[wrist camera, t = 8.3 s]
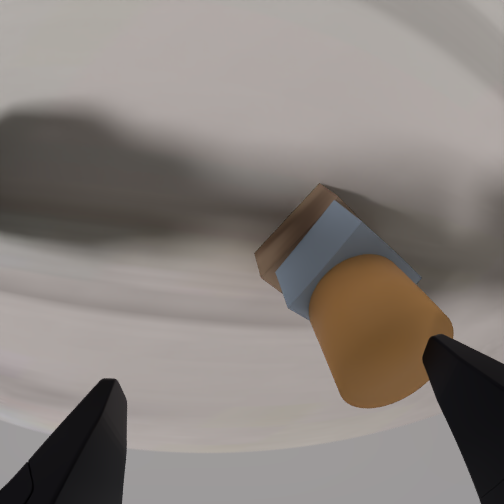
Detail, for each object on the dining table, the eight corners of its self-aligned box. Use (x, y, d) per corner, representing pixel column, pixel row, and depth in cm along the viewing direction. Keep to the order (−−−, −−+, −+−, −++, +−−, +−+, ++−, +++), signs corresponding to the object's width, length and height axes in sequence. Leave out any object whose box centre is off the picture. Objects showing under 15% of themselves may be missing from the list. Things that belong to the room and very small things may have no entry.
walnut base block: (315, 299, 22) (330, 328, 19) (253, 251, 20) (261, 277, 17) (374, 239, 21) (398, 261, 18) (318, 182, 19) (338, 196, 16)
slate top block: (337, 311, 19) (357, 347, 16) (275, 271, 17) (288, 308, 14) (391, 249, 17) (422, 277, 14) (334, 199, 16) (361, 221, 13)
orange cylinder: (350, 355, 16) (381, 418, 12) (286, 312, 14) (310, 385, 10) (418, 291, 14) (467, 343, 10) (365, 232, 13) (421, 283, 9)
